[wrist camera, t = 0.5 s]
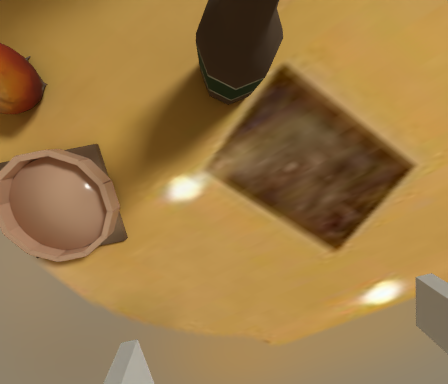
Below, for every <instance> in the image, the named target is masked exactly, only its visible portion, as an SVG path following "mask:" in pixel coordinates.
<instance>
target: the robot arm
mask: <svg viewBox="0 0 448 384" xmlns="http://www.w3.org/2000/svg"><path fill="white" fill-rule="evenodd" d="M416 326H417V327H419V328H420V329H421V330H422V331H423V332H424V333H425V334H426V335H427V336H428V337H430V338H431V339H432V340H433V341H434V342H435V343H436V344H437V345H438V346H439V347H440V348H442V349H443V350H444V351H445V352H446V353H447V354H448V283H447V282H445V281H443V280H442V279H440V278H439V277H437V276H435V275H434V274H432V273H431V274H427V275H422V276H418V277H416ZM103 384H154V382H153V379H152V376H151V374H150V371H149V368H148V366H147V363H146V360H145V358H144V355H143V352H142V350H141V347H140V345H139V342H138V340H132V341H127V342H123V343H121V345H120V347H119V349H118V351H117V354H116V356H115V358H114V360H113V363H112V365H111V368H110V369H109V372H108V374H107V376H106V379H105V381H104V383H103Z"/></svg>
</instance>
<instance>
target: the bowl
mask: <svg viewBox="0 0 448 384" xmlns="http://www.w3.org/2000/svg"><path fill="white" fill-rule="evenodd" d="M33 160H34V161H33ZM110 180H111V179H110V178H109V177H108V176H107V175H106V174H105V173H104V172H103V171H102V170H101V169H100V168H99V167H98V166H97V165H96V164H95V163H94V162H93V161H92V160H91V159H89V158H86V157H83V156H80V155H77V154H74V153H71V152H68V151H65V150H61V149H51V150H42V151H37V152H32V153H27V154H22V155H17V156H15V157H14V158H13V159H12V160H11V161H10V162H9V163H8V164H7V165H6V166H5V167H4V168H3V169H2V170H1V171H0V228H1V230H2V233H5V234H4V235H5V236H6V237H7V238H9V239H10V240H11V241H12V242H14V243H15V244H16V245H17V246H18V247H20V248H21V249H22V250H23V251H25V252H26V253H27V254H28V253H29V255H33V256H37V257H41V258H44V259H48V260H52V261H56V262H58V261H59V262H61V261H66V260H71V259H76V258H80V257H85V256H87V255H88V254H90V253H91V252H92V251H93V250H94V249H95V248H96V247H97V246H98V245H100V244H101V243H102V242H103V241H104V240H105V239H106V238H107V237H108V236H109V235H111V234H112V233H113V231H114V229H115V225H116V221H117V217H118V213H119V209H120V205H119V202H118V198H117V195H116V192H115V189H114V186H113V182H112V181H110ZM95 240H96V241H95ZM91 243H92V244H91ZM89 244H90V245H89Z"/></svg>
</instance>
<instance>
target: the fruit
mask: <svg viewBox="0 0 448 384" xmlns="http://www.w3.org/2000/svg"><path fill="white" fill-rule="evenodd" d="M29 57H30V56H29ZM29 57H27V58H24V57H23V56H21V55H20V54H19V53H17V52H16V51H15V50H13V49H11V48H10V47H8V46H6V45H4V44H1V43H0V113H3V114H19V113H22V112H24V111H27V110H30V109H31V108H33V107H34V106H35V105H36V104H37V103H38V102H39V101H40V100H41V99H42V95H43V91H44V87H45V86H46V85H48V84H46V83H44V82H43V81H42V79H41V78H40V76H39V75H38V73H37V72H36V70H35V69H34V67H33V66H32V65H31V64H30V63H29V62H28V59H29Z"/></svg>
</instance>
